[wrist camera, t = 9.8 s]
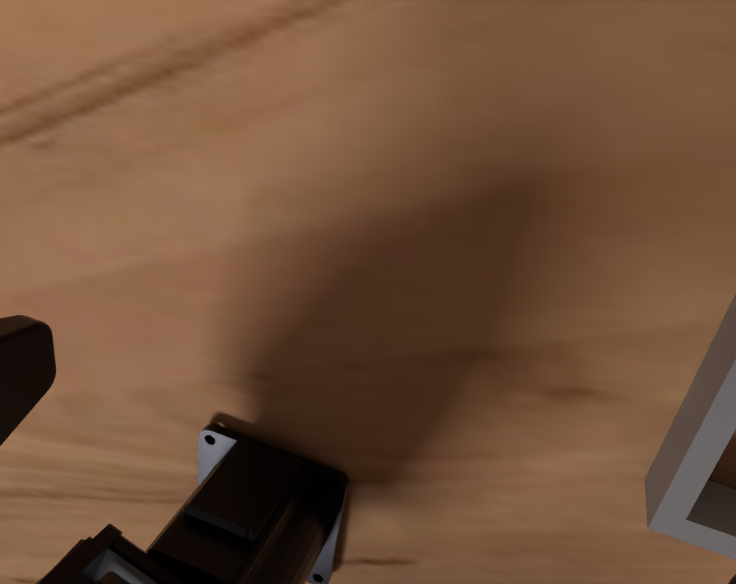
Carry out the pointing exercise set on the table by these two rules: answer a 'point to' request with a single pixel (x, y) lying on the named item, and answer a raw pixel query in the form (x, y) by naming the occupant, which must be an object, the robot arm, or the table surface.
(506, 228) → the table surface
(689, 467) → the gray rectangular frame
